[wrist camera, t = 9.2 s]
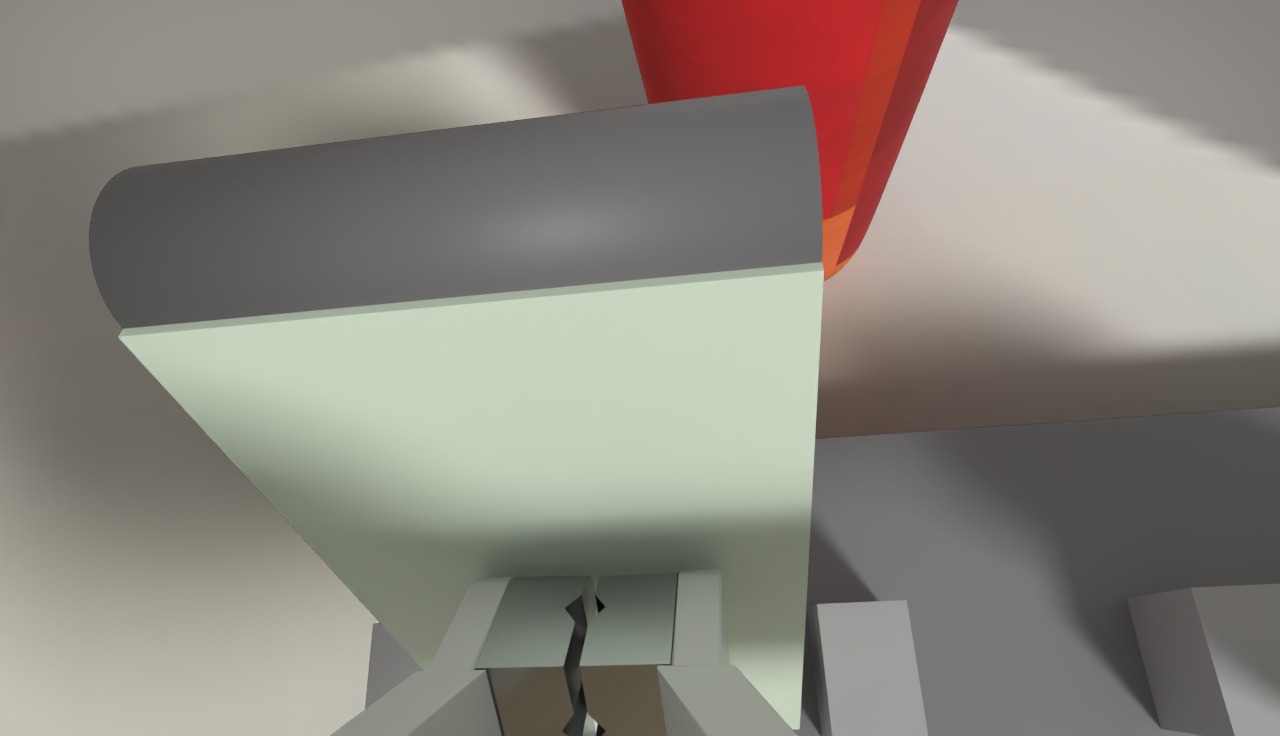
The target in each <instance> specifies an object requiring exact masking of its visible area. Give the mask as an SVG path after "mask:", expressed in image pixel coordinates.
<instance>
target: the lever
mask: <svg viewBox="0 0 1280 736" xmlns="http://www.w3.org/2000/svg"><path fill="white" fill-rule="evenodd" d="M89 245H90V256H91V262H92V268H93V271H94V275H95V279H96V282H97V285H98V287H99V290H100V292H101V295H102V297H103V299H104V301H105V303H106V305H107V307H108V308H109V310H110V311H111V313H112V315H113V316H114V318H115V319H116V320H117V322H118V323H119V324H120V325H121V327H122V328H123V330H122V331H121V333H120V334H119V336H118V338H119V339H120V340H121V341H122V342H123V343H124V344H125V345H126V347H127V348H128V349H129V350H130V351H131V352H132V353H133V354H134V355H135V356H136V357H137V359H138V360H139V361H140V362H141V363H142V364H143V365H144V366H145V367H146V368H147V369H148V371H149V372H150V373H151V374H152V375H153V376H154V377H155V378H156V379H157V380H158V381H159V382H160V384H161V385H162V386H163V387H164V388H165V389H166V390H167V391H168V392H169V393H170V394H171V396H172V397H173V398H174V399H175V400H176V401H177V402H178V403H179V404H180V405H181V406H182V408H183V409H184V410H185V411H186V412H187V413H188V414H189V415H190V416H191V417H192V418H193V420H194V421H195V422H196V423H197V424H198V425H199V426H200V427H201V428H202V429H203V430H204V432H205V433H206V434H207V435H208V436H209V437H210V438H211V439H212V440H213V441H214V442H215V443H216V445H217V446H218V447H219V448H220V449H221V450H222V451H223V452H224V453H225V454H226V455H227V457H228V458H229V459H230V460H231V461H232V462H233V463H234V464H235V465H236V466H237V467H238V469H239V470H240V471H241V472H242V473H243V474H244V475H245V476H246V477H247V478H248V479H249V481H250V482H251V483H252V484H253V485H254V486H255V487H256V488H257V489H258V490H259V491H260V493H261V494H262V495H263V496H264V497H265V498H266V499H267V500H268V501H269V502H270V503H271V504H272V506H273V507H274V508H275V509H276V510H277V511H278V512H279V513H280V514H281V515H282V516H283V518H284V519H285V520H286V521H287V522H288V523H289V524H290V525H291V526H292V527H293V528H294V530H295V531H296V532H297V533H298V534H299V535H300V536H301V537H302V538H303V539H304V540H305V542H306V543H307V544H308V545H309V546H310V547H311V548H312V549H313V550H314V551H315V552H316V554H317V555H318V556H319V557H320V558H321V559H322V560H323V561H324V562H325V563H326V564H327V566H328V567H329V568H330V569H331V570H332V571H333V572H334V573H335V574H336V575H337V576H338V577H339V579H340V580H341V581H342V582H343V583H344V584H345V585H346V586H347V587H348V588H349V589H350V591H351V592H352V593H353V594H354V595H355V596H356V597H357V598H358V599H359V600H360V601H361V603H362V604H363V605H364V606H365V607H366V608H367V609H368V610H369V611H370V612H371V613H372V615H373V616H374V617H375V618H376V619H377V620H378V621H379V622H380V623H381V624H382V625H383V627H384V628H385V629H386V630H387V631H388V632H389V633H390V634H391V635H392V636H393V637H394V638H395V640H396V641H397V642H398V643H399V644H400V645H401V646H402V647H403V648H404V649H405V650H406V652H407V653H408V654H409V655H410V656H411V657H412V658H413V659H414V660H415V661H416V662H417V664H418V665H419V666H420V667H421V668H422V669H423V670H424V671H428V670H429V668H430V665H431V663H432V661H433V659H434V657H435V655H436V653H437V651H438V649H439V646H440V644H441V642H442V640H443V638H444V636H445V634H446V632H447V630H448V627H449V625H450V623H451V621H452V619H453V617H454V615H455V613H456V611H457V608H458V606H459V604H460V602H461V600H462V598H463V596H464V594H465V592H466V589H467V587H468V585H469V584H470V583H471V582H472V581H474V580H475V579H477V578H498V577H511V578H514V577H534V576H590V577H591V578H592V580H593V581H594V586H595V591H596V588H597V584H598V580H599V578H600V577H602V576H608V575H631V574H655V573H678V572H680V571H687V570H702V569H717V568H719V570H720V571H721V575H722V582H723V593H724V604H725V615H726V627H727V638H728V649H729V662H730V664H733V665H735V666H736V667H737V668H738V669H739V670H740V671H741V672H742V674H743V675H744V676H745V677H746V678H747V679H748V680H749V681H750V683H751V684H752V685H753V686H754V687H755V688H756V689H757V690H758V692H759V693H760V694H761V695H762V696H763V697H764V698H765V699H766V701H767V702H768V703H769V704H770V705H771V706H772V707H773V708H774V709H775V711H776V712H777V713H778V714H779V715H780V716H781V717H782V718H783V720H784V721H785V722H786V723H787V724H788V725H789V726H790V727H791V729H792V730H797V729H800V714H801V695H802V676H803V658H804V639H805V620H806V601H807V582H808V564H809V545H810V526H811V507H812V488H813V470H814V451H815V432H816V413H817V394H818V375H819V357H820V338H821V319H822V300H823V281H824V268H823V264H822V253H823V217H822V192H821V177H820V164H819V154H818V144H817V136H816V129H815V123H814V116H813V111H812V106H811V102H810V98H809V95H808V92H807V90H806V88H805V87H804V86H802V85H801V86H793V87H785V88H777V89H769V90H761V91H752V92H744V93H736V94H728V95H720V96H711V97H703V98H695V99H687V100H679V101H671V102H662V103H654V104H646V105H638V106H630V107H621V108H613V109H605V110H597V111H589V112H581V113H572V114H564V115H556V116H548V117H540V118H532V119H523V120H515V121H507V122H499V123H491V124H482V125H474V126H466V127H458V128H450V129H442V130H433V131H425V132H417V133H409V134H401V135H392V136H384V137H376V138H368V139H360V140H352V141H343V142H335V143H327V144H319V145H311V146H303V147H294V148H286V149H278V150H270V151H262V152H253V153H245V154H237V155H229V156H221V157H213V158H204V159H196V160H188V161H180V162H172V163H163V164H155V165H147V166H139V167H133V168H129V169H127V170H124V171H122V172H120V173H119V174H117V175H115V176H114V177H113V178H112V179H111V180H110V181H109V182H108V183H107V184H106V185H105V187H104V188H103V189H102V191H101V193H100V195H99V197H98V199H97V200H96V203H95V206H94V209H93V212H92V217H91V222H90V233H89ZM597 614H598V610H597V609H596V613H595V616H596V615H597ZM594 725H595V731H597V725H598V723H597V722H596V721H595V720H594Z"/></svg>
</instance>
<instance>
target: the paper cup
mask: <svg viewBox="0 0 1280 736" xmlns="http://www.w3.org/2000/svg"><path fill="white" fill-rule="evenodd" d="M957 3H958V0H622V4H623V8H624V12H625V15H626V19H627V23H628V27H629V31H630V34H631V38H632V42H633V46H634V50H635V53H636V57H637V61H638V65H639V69H640V73H641V76H642V80H643V84H644V88H645V92H646V95H647V99H648V103H649V104H654V103H662V102H671V101H679V100H687V99H695V98H703V97H711V96H720V95H728V94H736V93H744V92H752V91H761V90H769V89H777V88H785V87H793V86H801V85H802V86H804V87H805V88H806V90H807V92H808V95H809V98H810V102H811V106H812V111H813V116H814V123H815V129H816V136H817V144H818V154H819V164H820V177H821V192H822V217H823V253H822V264H823V268H824V281H825V280H827V279H828V278H830V277H831V276H833V275H834V274H836V273H837V272H838V271H839V270H840V269H842V268H843V267H844V266H845V265H846V264H847V262H848V261H849V260H850V259H851V258H852V256H853V255H854V253H855V252H856V251H857V249H858V247H859V246H860V244H861V242H862V240H863V238H864V236H865V234H866V232H867V230H868V227H869V225H870V223H871V221H872V218H873V216H874V214H875V211H876V209H877V207H878V204H879V202H880V199H881V197H882V194H883V192H884V189H885V187H886V184H887V182H888V179H889V177H890V174H891V172H892V169H893V167H894V164H895V162H896V159H897V157H898V154H899V152H900V149H901V147H902V144H903V141H904V139H905V136H906V134H907V131H908V129H909V126H910V124H911V121H912V119H913V116H914V113H915V111H916V108H917V106H918V103H919V101H920V98H921V96H922V93H923V91H924V88H925V85H926V83H927V80H928V78H929V75H930V73H931V70H932V67H933V65H934V62H935V60H936V57H937V55H938V52H939V49H940V47H941V44H942V42H943V39H944V37H945V34H946V31H947V29H948V26H949V24H950V21H951V18H952V16H953V13H954V11H955V8H956V6H957Z"/></svg>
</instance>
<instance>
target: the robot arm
mask: <svg viewBox="0 0 1280 736" xmlns="http://www.w3.org/2000/svg"><path fill="white" fill-rule="evenodd" d="M596 609H597V610H598V614H597V615H596V616H595V613H596ZM594 720H595V721H596V722H597V723H598V725H597V731H595V725H594ZM330 736H798V735H797V734H796V733H795V732H794V731H793V730H792V729H791V727H790V726H789V725H788V724H787V723H786V722H785V721H784V720H783V718H782V717H781V716H780V715H779V714H778V713H777V712H776V711H775V709H774V708H773V707H772V706H771V705H770V704H769V703H768V702H767V701H766V699H765V698H764V697H763V696H762V695H761V694H760V693H759V692H758V690H757V689H756V688H755V687H754V686H753V685H752V684H751V683H750V681H749V680H748V679H747V678H746V677H745V676H744V675H743V674H742V672H741V671H740V670H739V669H738V668H737V667H736V666H735V665H733V664H730V662H729V649H728V638H727V627H726V615H725V604H724V593H723V582H722V575H721V571H720V570H719V568H717V569H702V570H687V571H680V572H678V573H655V574H631V575H608V576H602V577H600V578H599V580H598V584H597V588H596V591H595V586H594V581H593V580H592V578H591V577H590V576H534V577H514V578H511V577H498V578H477V579H475V580H474V581H472V582H471V583H470V584H469V585H468V587H467V589H466V592H465V594H464V596H463V598H462V600H461V602H460V604H459V606H458V608H457V611H456V613H455V615H454V617H453V619H452V621H451V623H450V625H449V627H448V630H447V632H446V634H445V636H444V638H443V640H442V642H441V644H440V646H439V649H438V651H437V653H436V655H435V657H434V659H433V661H432V663H431V665H430V668H429V670H428V671H416V672H415V673H414V674H412V675H411V676H409V677H408V678H407V679H405V680H404V681H403V682H401V683H400V684H399V685H397V686H396V687H395V688H393V689H392V690H391V691H389V692H388V693H387V694H385V695H384V696H383V697H381V698H380V699H379V700H377V701H376V702H375V703H373V704H372V705H371V706H369V707H368V708H367V709H365V710H364V711H362V712H361V713H360V714H358V715H357V716H356V717H354V718H353V719H352V720H350V721H349V722H348V723H346V724H345V725H344V726H342V727H341V728H340V729H338V730H337V731H336V732H334V733H333V734H332V735H330Z"/></svg>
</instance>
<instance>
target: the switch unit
mask: <svg viewBox="0 0 1280 736" xmlns="http://www.w3.org/2000/svg"><path fill="white" fill-rule="evenodd" d="M416 671H424V670H423V669H422V668H421V667H420V666H419V665H418V664H417V662H416V661H415V660H414V659H413V658H412V657H411V656H410V655H409V654H408V653H407V652H406V650H405V649H404V648H403V647H402V646H401V645H400V644H399V643H398V642H397V641H396V640H395V638H394V637H393V636H392V635H391V634H390V633H389V632H388V631H387V630H386V629H385V628H384V627H383V625H382V624H381V623H376V624H373V631H372V641H371V652H370V662H369V673H368V683H367V694H366V704H365V709H367V708H368V707H369V706H371V705H372V704H373V703H375V702H376V701H377V700H379V699H380V698H381V697H383V696H384V695H385V694H387V693H388V692H389V691H391V690H392V689H393V688H395V687H396V686H397V685H399V684H400V683H401V682H403V681H404V680H405V679H407V678H408V677H409V676H411V675H412V674H414V673H415V672H416ZM793 731H794V732H795V733H796V734H797V735H798V736H1280V407H1271V408H1256V409H1242V410H1227V411H1213V412H1198V413H1184V414H1169V415H1155V416H1140V417H1126V418H1111V419H1097V420H1082V421H1068V422H1053V423H1039V424H1024V425H1010V426H995V427H981V428H966V429H952V430H937V431H923V432H908V433H894V434H879V435H865V436H850V437H836V438H821V439H815V451H814V470H813V488H812V507H811V526H810V545H809V564H808V582H807V601H806V620H805V639H804V658H803V676H802V695H801V714H800V729H797V730H793Z"/></svg>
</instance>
